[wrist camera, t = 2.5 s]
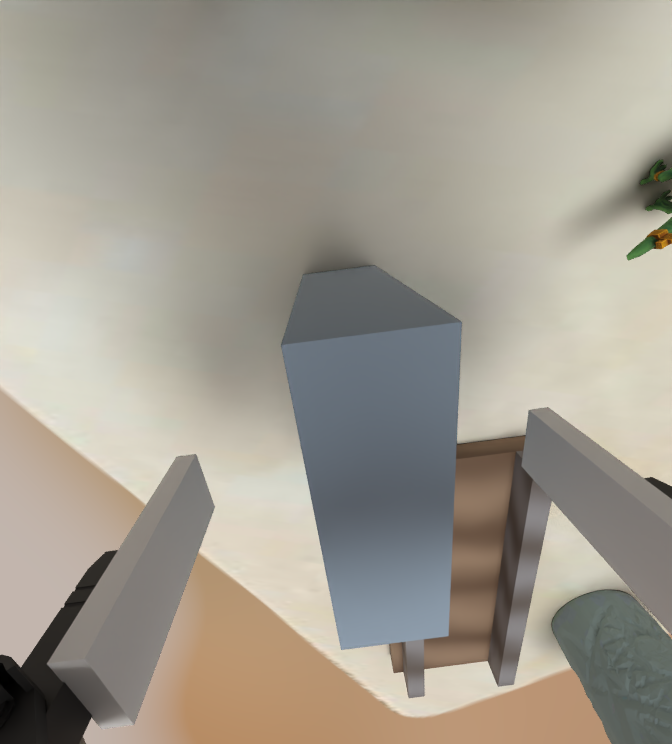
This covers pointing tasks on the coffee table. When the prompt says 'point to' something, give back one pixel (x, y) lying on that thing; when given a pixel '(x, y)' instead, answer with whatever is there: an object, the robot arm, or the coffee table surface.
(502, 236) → the coffee table surface
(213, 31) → the coffee table surface
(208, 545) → the coffee table surface
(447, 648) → the door track
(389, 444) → the door panel
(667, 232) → the figurine
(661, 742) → the grey green cup
